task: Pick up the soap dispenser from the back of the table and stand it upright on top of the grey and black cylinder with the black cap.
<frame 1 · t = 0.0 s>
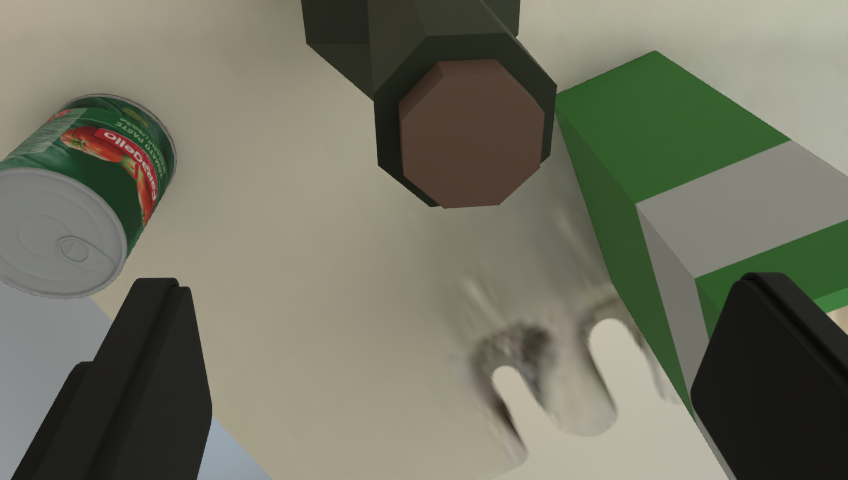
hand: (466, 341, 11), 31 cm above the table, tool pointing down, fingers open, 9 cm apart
hardback book: (630, 179, 46), on the table
canned tomato: (116, 150, 41), on the table
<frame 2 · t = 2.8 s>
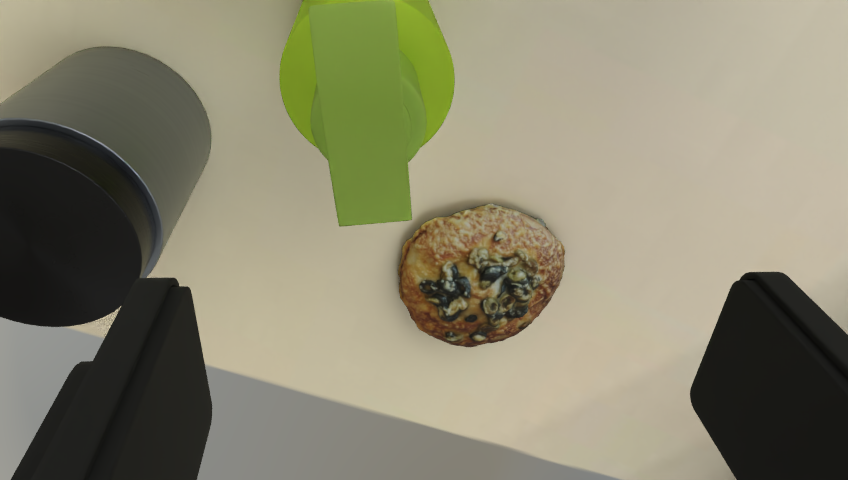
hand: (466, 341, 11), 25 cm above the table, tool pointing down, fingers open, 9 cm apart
bread roll: (477, 264, 41), on the table
grey and black cylinder: (127, 128, 34), on the table
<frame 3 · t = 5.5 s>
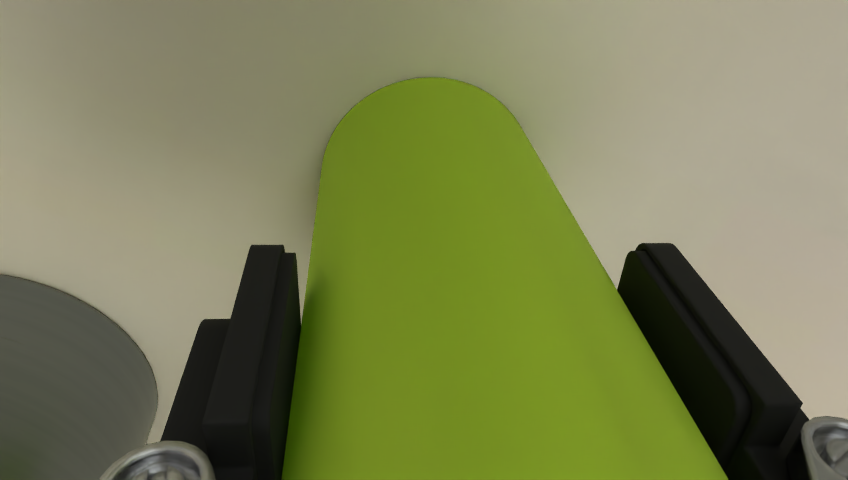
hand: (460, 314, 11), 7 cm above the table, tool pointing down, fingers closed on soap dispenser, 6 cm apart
soap dispenser: (425, 160, 17), on the table, touching gripper
grey and black cylinder: (10, 385, 20), on the table
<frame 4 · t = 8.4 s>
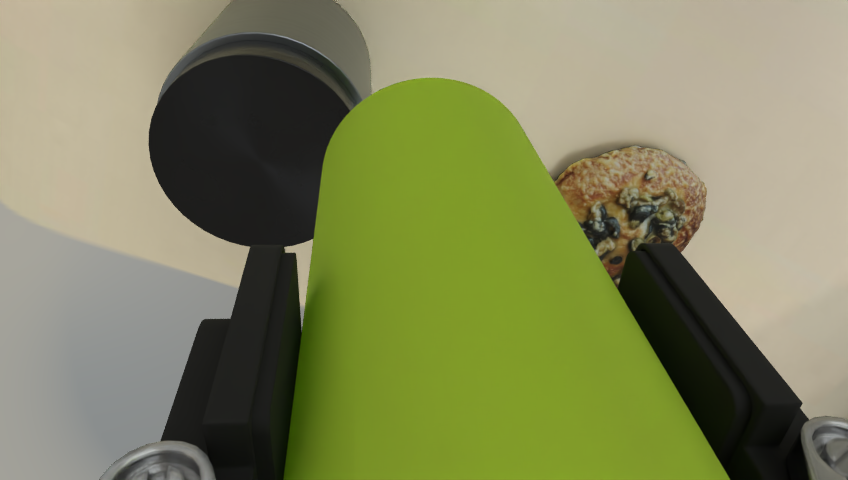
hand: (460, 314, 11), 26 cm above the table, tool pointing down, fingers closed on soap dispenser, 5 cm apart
bread roll: (612, 209, 41), on the table
soap dispenser: (426, 160, 17), point 19 cm above the table, touching gripper
grey and black cylinder: (290, 68, 34), on the table
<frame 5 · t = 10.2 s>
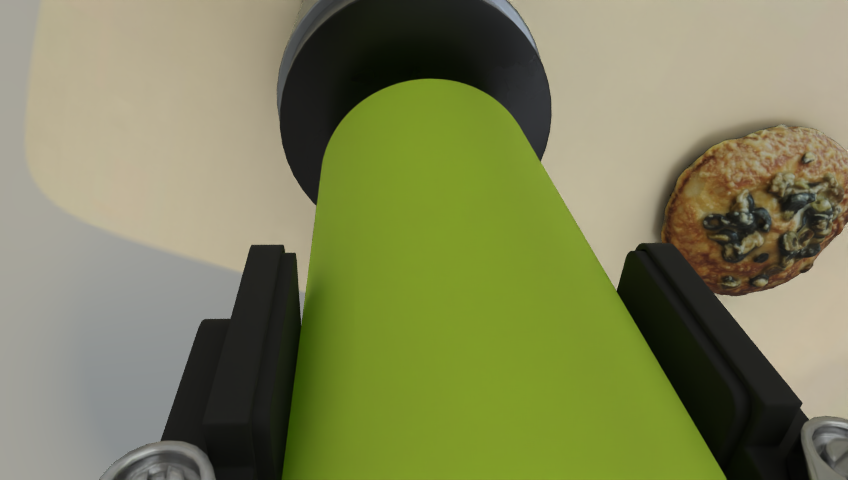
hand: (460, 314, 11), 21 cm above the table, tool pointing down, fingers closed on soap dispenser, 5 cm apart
bread roll: (745, 200, 36), on the table
soap dispenser: (425, 161, 17), point 14 cm above the table, touching gripper
grey and black cylinder: (396, 34, 29), on the table
when the fingers open (19 cm above the table, at t = 11.5 s): soap dispenser stays where it is, resting on grey and black cylinder.
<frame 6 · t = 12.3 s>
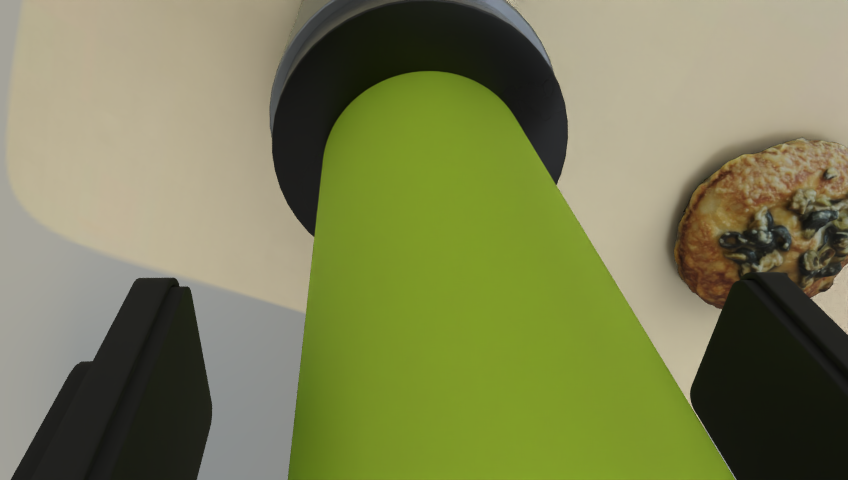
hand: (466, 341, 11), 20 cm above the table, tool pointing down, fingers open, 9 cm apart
bread roll: (762, 216, 35), on the table
soap dispenser: (423, 152, 17), point 12 cm above the table, touching grey and black cylinder
grey and black cylinder: (398, 44, 27), on the table, touching soap dispenser
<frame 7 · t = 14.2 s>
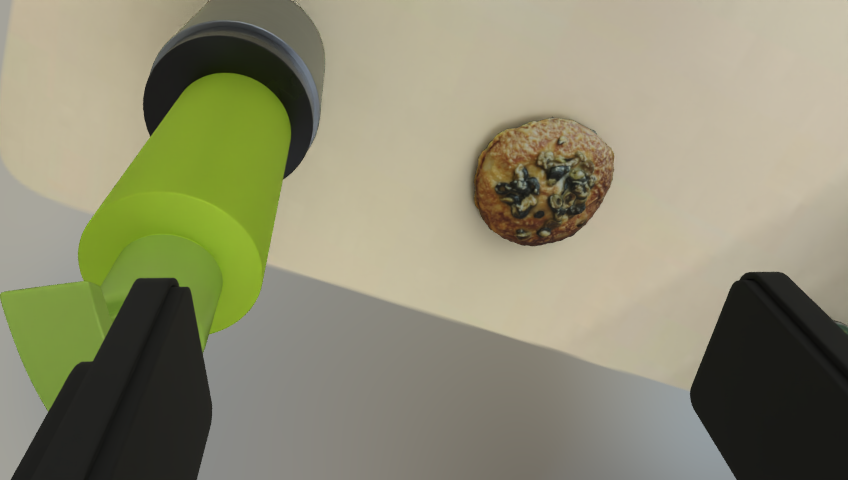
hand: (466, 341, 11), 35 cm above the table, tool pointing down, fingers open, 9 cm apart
bread roll: (538, 174, 49), on the table
soap dispenser: (231, 118, 31), point 12 cm above the table, touching grey and black cylinder
grey and black cylinder: (258, 57, 41), on the table, touching soap dispenser
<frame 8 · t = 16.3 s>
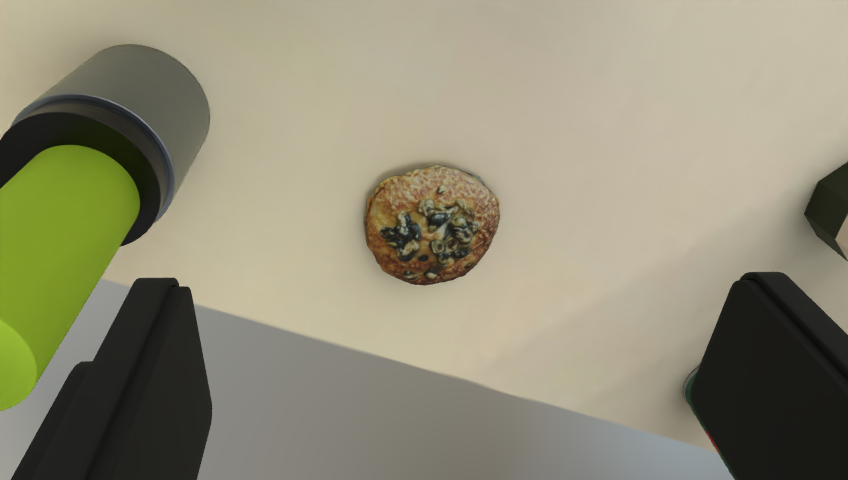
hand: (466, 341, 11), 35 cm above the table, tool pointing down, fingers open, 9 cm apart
bread roll: (429, 217, 50), on the table
soap dispenser: (81, 183, 33), point 12 cm above the table, touching grey and black cylinder
grey and black cylinder: (144, 108, 43), on the table, touching soap dispenser
canned tomato: (718, 381, 64), on the table
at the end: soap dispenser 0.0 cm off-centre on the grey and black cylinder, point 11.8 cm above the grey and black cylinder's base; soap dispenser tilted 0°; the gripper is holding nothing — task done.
